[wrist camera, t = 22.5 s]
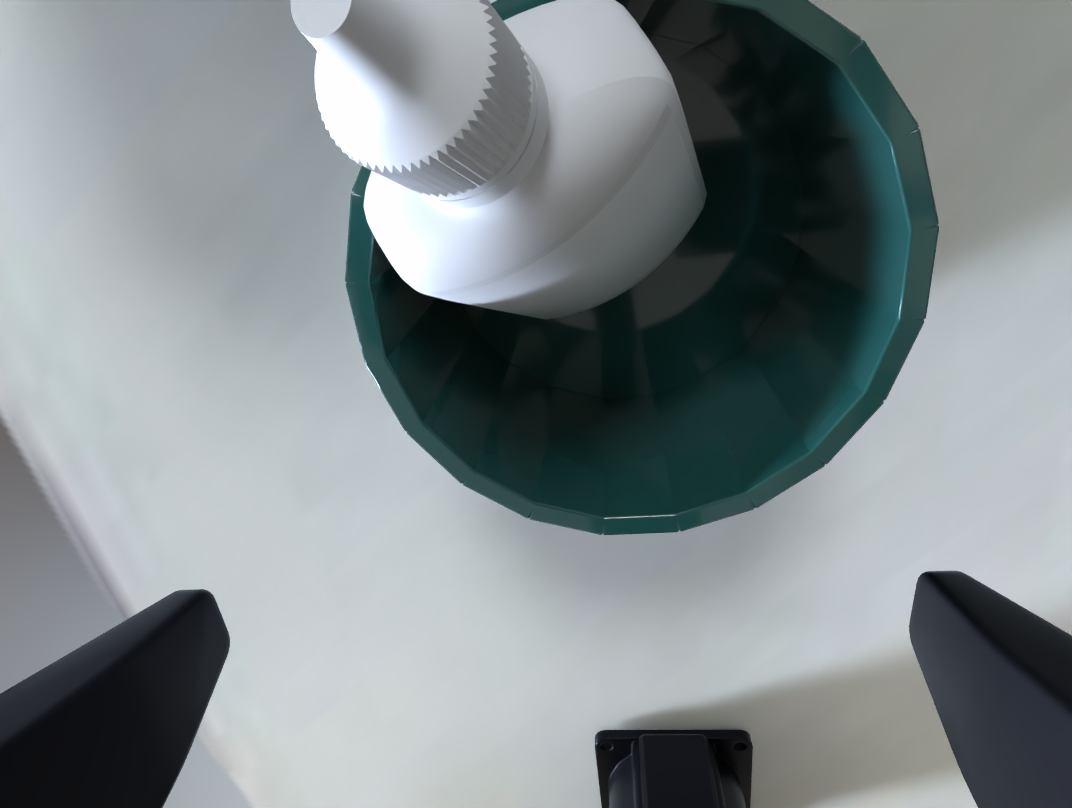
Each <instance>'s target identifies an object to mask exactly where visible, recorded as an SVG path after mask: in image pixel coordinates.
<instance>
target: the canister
mask: <svg viewBox="0 0 1072 808" xmlns="http://www.w3.org/2000/svg"><path fill="white" fill-rule="evenodd" d="M553 1H556V0H496V1H495V2H493V3H491V5H492V6H493V8H494V9H495V10H496V12H497V13H498V14H499V16H500V17H501V19H502V20H503V21H504V20H506V19H508V18H510V17H513V16H515V15H517V14H519V13H522V12H524V11H527V10H530V9H532V8H535V7H537V6H540V5H543V4H546V3H550V2H553ZM615 1H617V2H618V3H620V4H622V5H623V6H624V7H625V8H626V10H627V11H628V12H629V13H630V14H631V16H632V17H633V18H634V19H635V21H636V22H637V24H638V25H639V26H640V28H641V29H642V30H643V32H644V33H645V35H646V36H647V38H648V39H649V40H650V42H651V43H652V45H653V46H654V48H655V49H656V51H657V52H658V54H659V56H660V57H661V59H662V61H663V62H664V64H665V66H666V67H667V69H668V71H669V72H670V74H671V76H672V79H673V81H674V84H675V87H676V90H677V93H678V96H679V99H680V102H681V105H682V108H683V112H684V115H685V118H686V122H687V125H688V129H689V132H690V135H691V139H692V142H693V146H694V149H695V153H696V156H697V160H698V163H699V167H700V170H701V174H702V177H703V181H704V185H705V188H706V192H707V196H706V200H705V204H704V207H703V209H702V211H701V213H700V215H699V216H698V218H697V220H696V221H695V223H694V224H693V226H692V227H691V229H690V230H689V232H688V233H687V234H686V236H685V237H684V238H683V240H682V241H681V242H680V243H679V245H678V246H677V247H676V248H675V249H674V250H673V252H672V253H671V254H670V255H669V256H668V257H667V258H666V259H665V260H664V261H663V262H662V263H661V264H660V265H659V266H658V267H657V268H656V269H655V270H653V271H652V272H651V273H650V274H649V275H647V276H646V277H645V278H644V279H642V280H641V281H640V282H638V283H637V284H636V285H634V286H633V287H631V288H630V289H628V290H627V291H625V292H623V293H622V294H620V295H618V296H616V297H615V298H613V299H611V300H609V301H607V302H605V303H602V304H600V305H598V306H596V307H593V308H590V309H588V310H585V311H582V312H579V313H575V314H572V315H568V316H564V317H560V318H553V319H541V318H535V317H530V316H524V315H519V314H514V313H508V312H503V311H498V310H493V309H488V308H483V307H478V306H473V305H468V304H463V303H458V302H453V301H449V300H445V299H441V298H437V297H433V296H429V295H425V294H422V293H420V292H418V291H416V290H414V289H413V288H412V287H411V286H410V285H409V284H407V283H406V282H405V281H404V280H403V279H402V278H401V277H400V276H399V274H398V273H397V272H396V270H395V269H394V267H393V266H392V265H391V263H390V261H389V260H388V258H387V257H386V255H385V253H384V252H383V250H382V248H381V247H380V245H379V243H378V242H377V240H376V238H375V236H374V235H373V233H372V231H371V229H370V227H369V225H368V222H367V219H366V215H365V210H364V198H365V191H366V186H367V183H368V180H369V177H370V174H371V170H369V169H367V168H365V167H364V166H362V167H361V169H360V172H359V174H358V177H357V179H356V182H355V184H354V187H353V189H352V192H353V193H352V194H351V202H350V217H349V231H348V246H347V261H346V275H345V281H346V282H347V283H346V288H347V292H348V296H349V300H350V304H351V308H352V312H353V316H354V320H355V325H356V329H357V333H358V337H359V341H360V345H361V349H362V353H363V357H364V361H365V363H367V364H366V366H367V368H368V370H369V371H370V373H371V375H372V376H373V378H374V380H375V381H376V383H377V385H378V386H379V388H380V390H381V391H382V393H383V395H384V397H385V398H386V400H387V402H388V403H389V405H390V407H391V408H392V410H393V412H394V413H395V415H396V417H397V418H398V420H399V422H400V423H401V425H402V427H403V428H404V430H405V431H407V434H408V435H409V436H410V437H411V438H412V439H413V440H415V441H416V442H417V443H418V444H419V445H420V446H421V447H422V448H423V449H424V450H425V451H426V452H427V453H429V454H430V455H431V456H432V457H433V458H434V459H435V460H436V461H437V462H438V463H439V464H440V465H441V466H442V467H444V468H445V469H446V470H447V471H448V472H449V473H450V474H451V475H452V476H453V477H454V478H455V479H456V480H458V481H459V482H460V483H463V485H464V486H466V487H468V488H470V489H471V490H473V491H475V492H477V493H479V494H481V495H483V496H485V497H487V498H489V499H491V500H493V501H495V502H497V503H499V504H500V505H502V506H504V507H506V508H508V509H510V510H512V511H514V512H516V513H518V514H520V515H522V516H524V517H526V518H530V519H531V520H535V521H540V522H544V523H549V524H554V525H558V526H563V527H567V528H572V529H577V530H581V531H586V532H590V533H595V534H599V535H601V534H602V533H603V535H619V534H643V533H667V532H678V531H679V530H680V531H684V530H688V529H691V528H694V527H697V526H701V525H704V524H707V523H711V522H714V521H717V520H720V519H724V518H727V517H730V516H734V515H737V514H740V513H743V512H747V511H750V510H753V509H754V507H755V508H758V507H759V506H761V505H763V504H764V503H766V502H767V501H769V500H771V499H772V498H774V497H775V496H777V495H779V494H780V493H782V492H784V491H785V490H787V489H788V488H790V487H792V486H793V485H795V484H796V483H798V482H800V481H801V480H803V479H805V478H806V477H808V476H809V475H811V474H813V473H814V472H816V471H818V470H819V469H821V468H822V467H824V466H825V464H828V463H829V461H830V460H831V459H832V458H833V457H834V456H835V455H836V454H837V453H838V452H839V451H840V450H841V449H842V447H843V446H844V445H845V444H846V443H847V442H848V441H849V440H850V439H851V438H852V437H853V436H854V435H855V433H856V432H857V431H858V430H859V429H860V428H861V427H862V426H863V425H864V424H865V423H866V422H867V420H868V419H869V418H870V417H871V416H872V415H873V414H874V413H875V412H876V411H877V410H878V409H879V408H880V406H881V405H882V404H883V403H884V401H883V400H886V398H887V396H888V394H889V392H890V390H891V388H892V386H893V384H894V382H895V380H896V378H897V376H898V374H899V372H900V370H901V368H902V366H903V364H904V362H905V360H906V358H907V356H908V354H909V352H910V350H911V348H912V346H913V344H914V342H915V340H916V338H917V336H918V334H919V332H920V330H921V328H922V326H923V324H924V320H923V319H925V318H926V313H927V307H928V300H929V293H930V286H931V279H932V272H933V266H934V259H935V252H936V245H937V238H938V232H939V226H938V217H937V212H936V207H935V202H934V197H933V192H932V187H931V182H930V177H929V172H928V167H927V162H926V157H925V152H924V147H923V142H922V137H921V132H920V130H919V128H918V127H919V126H918V123H917V122H916V120H915V119H914V117H913V115H912V114H911V112H910V111H909V109H908V108H907V106H906V105H905V103H904V101H903V100H902V98H901V97H900V95H899V94H898V92H897V91H896V89H895V87H894V86H893V84H892V83H891V81H890V80H889V78H888V77H887V75H886V73H885V72H884V70H883V69H882V67H881V66H880V64H879V62H878V61H877V59H876V58H875V56H874V55H873V53H872V52H871V50H870V48H869V47H868V45H867V44H866V42H865V41H864V40H861V38H860V36H858V35H857V34H856V33H854V32H853V31H851V30H850V29H848V28H847V27H846V26H844V25H843V24H841V23H840V22H838V21H837V20H836V19H834V18H833V17H831V16H830V15H828V14H827V13H826V12H824V11H823V10H821V9H820V8H819V7H817V6H816V5H814V4H813V3H811V2H810V1H809V0H615Z"/></svg>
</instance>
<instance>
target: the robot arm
mask: <svg viewBox="0 0 1072 808" xmlns="http://www.w3.org/2000/svg"><path fill="white" fill-rule="evenodd" d="M909 632H910V639H911V643H912V646H913V649H914V651H915V654H916V657H917V659H918V662H919V664H920V667H921V670H922V672H923V675H924V678H925V680H926V683H927V685H928V688H929V691H930V693H931V696H932V698H933V701H934V704H935V706H936V709H937V711H938V714H939V717H940V719H941V722H942V724H943V727H944V730H945V732H946V735H947V738H948V740H949V743H950V745H951V748H952V751H953V753H954V756H955V758H956V760H957V763H958V765H959V768H960V770H961V773H962V775H963V777H964V779H965V781H966V783H967V785H968V787H969V790H970V792H971V794H972V796H973V798H974V800H975V802H976V804H977V806H978V808H1072V636H1071V635H1070V634H1068V633H1066V632H1065V631H1063V630H1061V629H1059V628H1058V627H1056V626H1054V625H1053V624H1051V623H1049V622H1047V621H1046V620H1044V619H1042V618H1040V617H1039V616H1037V615H1035V614H1034V613H1032V612H1030V611H1028V610H1027V609H1025V608H1023V607H1022V606H1020V605H1018V604H1016V603H1015V602H1013V601H1011V600H1009V599H1008V598H1006V597H1004V596H1003V595H1001V594H999V593H997V592H996V591H994V590H992V589H991V588H989V587H987V586H985V585H984V584H982V583H980V582H978V581H977V580H975V579H973V578H972V577H970V576H968V575H966V574H964V573H962V572H959V571H928V572H925V573H922V574H921V575H920V577H919V578H918V581H917V584H916V590H915V596H914V601H913V607H912V612H911V618H910V625H909ZM229 647H230V638H229V633H228V630H227V628H226V625H225V623H224V620H223V618H222V615H221V613H220V610H219V608H218V605H217V603H216V600H215V598H214V596H213V595H212V594H211V593H210V592H209V591H207V590H203V589H200V590H179V591H176V592H174V593H172V594H170V595H168V596H167V597H165V598H163V599H161V600H160V601H158V602H156V603H155V604H153V605H151V606H150V607H148V608H146V609H144V610H143V611H141V612H139V613H138V614H136V615H134V616H132V617H131V618H129V619H127V620H126V621H124V622H122V623H121V624H119V625H117V626H115V627H114V628H112V629H110V630H109V631H107V632H105V633H103V634H102V635H100V636H98V637H97V638H95V639H93V640H91V641H90V642H88V643H87V644H85V645H83V646H81V647H80V648H78V649H76V650H74V651H73V652H71V653H69V654H68V655H66V656H64V657H63V658H61V659H59V660H57V661H56V662H54V663H52V664H51V665H49V666H47V667H45V668H44V669H42V670H40V671H39V672H37V673H35V674H34V675H32V676H30V677H28V678H27V679H25V680H23V681H22V682H20V683H18V684H16V685H15V686H13V687H11V688H10V689H8V690H6V691H5V692H3V693H1V694H0V808H163V806H164V803H165V802H166V799H167V797H168V796H169V794H170V791H171V790H172V788H173V786H174V783H175V782H176V779H177V777H178V775H179V773H180V771H181V769H182V767H183V765H184V762H185V760H186V758H187V755H188V753H189V751H190V748H191V746H192V743H193V741H194V738H195V736H196V733H197V731H198V728H199V726H200V723H201V721H202V718H203V716H204V713H205V711H206V708H207V706H208V703H209V701H210V698H211V696H212V693H213V690H214V688H215V685H216V683H217V680H218V678H219V675H220V673H221V670H222V668H223V665H224V663H225V660H226V658H227V655H228V652H229ZM752 749H753V746H752V742H751V738H750V735H749V734H748V733H747V732H746V731H743V730H604V731H600V732H598V733H597V734H596V736H595V750H596V759H597V768H598V777H599V786H600V795H601V804H602V808H750V799H751V774H752Z"/></svg>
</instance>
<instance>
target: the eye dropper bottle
mask: <svg viewBox="0 0 1072 808" xmlns="http://www.w3.org/2000/svg"><path fill="white" fill-rule="evenodd" d="M291 14H292V18H293V21H294V23H295V25H296V26H297V28H298V29H299V30H300V32H301V33H302V34H303V35H304V36H305V37H306V38H307V40H308V41H309V42H310V43H311V44H312V45H313V46H314V48H315V49H316V50H317V55H316V62H315V78H314V80H315V91H316V101H318V108H319V111H320V112H321V117H322V120H323V121H324V122H325V127H326V129H327V130H328V131H329V132H330V136H331V138H333V139H335V142H336V145H337V146H339V147H341V149H342V152H343V153H345V154H347V155H348V156H349V158H350V159H352V160H354V161H356V162H357V163H358V164H360V165H362V166H364V167H365V168H367V169H369V170H371V174H370V177H369V180H368V183H367V186H366V191H365V198H364V210H365V215H366V219H367V222H368V225H369V227H370V229H371V231H372V233H373V235H374V236H375V238H376V240H377V242H378V243H379V245H380V247H381V248H382V250H383V252H384V253H385V255H386V257H387V258H388V260H389V261H390V263H391V265H392V266H393V267H394V269H395V270H396V272H397V273H398V274H399V276H400V277H401V278H402V279H403V280H404V281H405V282H406V283H407V284H409V285H410V286H411V287H412V288H413V289H414V290H416V291H418V292H420V293H422V294H425V295H429V296H433V297H437V298H441V299H445V300H449V301H453V302H458V303H463V304H468V305H473V306H478V307H483V308H488V309H493V310H498V311H503V312H508V313H514V314H519V315H524V316H530V317H535V318H541V319H553V318H560V317H564V316H568V315H572V314H575V313H579V312H582V311H585V310H588V309H590V308H593V307H596V306H598V305H600V304H602V303H605V302H607V301H609V300H611V299H613V298H615V297H616V296H618V295H620V294H622V293H623V292H625V291H627V290H628V289H630V288H631V287H633V286H634V285H636V284H637V283H638V282H640V281H641V280H642V279H644V278H645V277H646V276H647V275H649V274H650V273H651V272H652V271H653V270H655V269H656V268H657V267H658V266H659V265H660V264H661V263H662V262H663V261H664V260H665V259H666V258H667V257H668V256H669V255H670V254H671V253H672V252H673V250H674V249H675V248H676V247H677V246H678V245H679V243H680V242H681V241H682V240H683V238H684V237H685V236H686V234H687V233H688V232H689V230H690V229H691V227H692V226H693V224H694V223H695V221H696V220H697V218H698V216H699V215H700V213H701V211H702V209H703V207H704V204H705V200H706V196H707V192H706V188H705V185H704V181H703V177H702V174H701V170H700V167H699V163H698V160H697V156H696V153H695V149H694V146H693V142H692V139H691V135H690V132H689V129H688V125H687V122H686V118H685V115H684V112H683V108H682V105H681V102H680V99H679V96H678V93H677V90H676V87H675V84H674V81H673V79H672V76H671V74H670V72H669V71H668V69H667V67H666V66H665V64H664V62H663V61H662V59H661V57H660V56H659V54H658V52H657V51H656V49H655V48H654V46H653V45H652V43H651V42H650V40H649V39H648V38H647V36H646V35H645V33H644V32H643V30H642V29H641V28H640V26H639V25H638V24H637V22H636V21H635V19H634V18H633V17H632V16H631V14H630V13H629V12H628V11H627V10H626V8H625V7H624V6H623V5H622V4H620V3H618V2H617V1H615V0H556V1H553V2H550V3H546V4H543V5H540V6H537V7H535V8H532V9H530V10H527V11H524V12H522V13H519V14H517V15H515V16H513V17H510V18H508V19H506V20H504V21H503V20H502V19H501V17H500V16H499V14H498V13H497V12H496V10H495V9H494V8H493V6H492V5H491V4H490V2H489V1H488V0H291Z"/></svg>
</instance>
